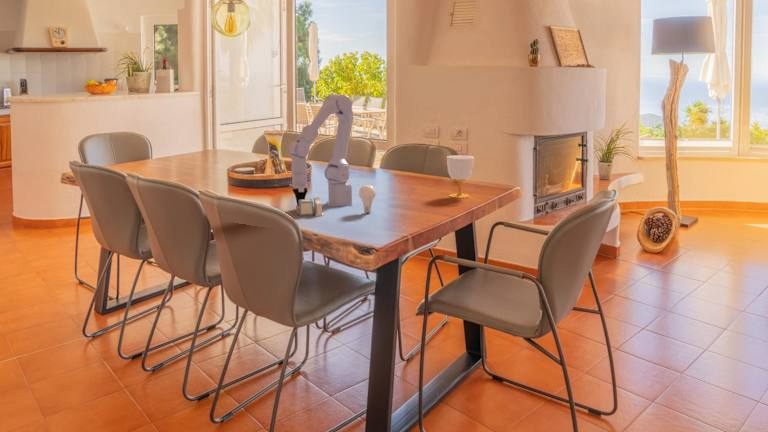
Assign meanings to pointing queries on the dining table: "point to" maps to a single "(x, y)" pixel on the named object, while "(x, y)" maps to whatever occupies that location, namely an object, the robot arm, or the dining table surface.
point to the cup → (460, 170)
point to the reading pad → (304, 215)
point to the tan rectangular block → (317, 207)
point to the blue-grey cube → (305, 207)
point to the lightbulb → (367, 197)
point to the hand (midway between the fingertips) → (300, 207)
